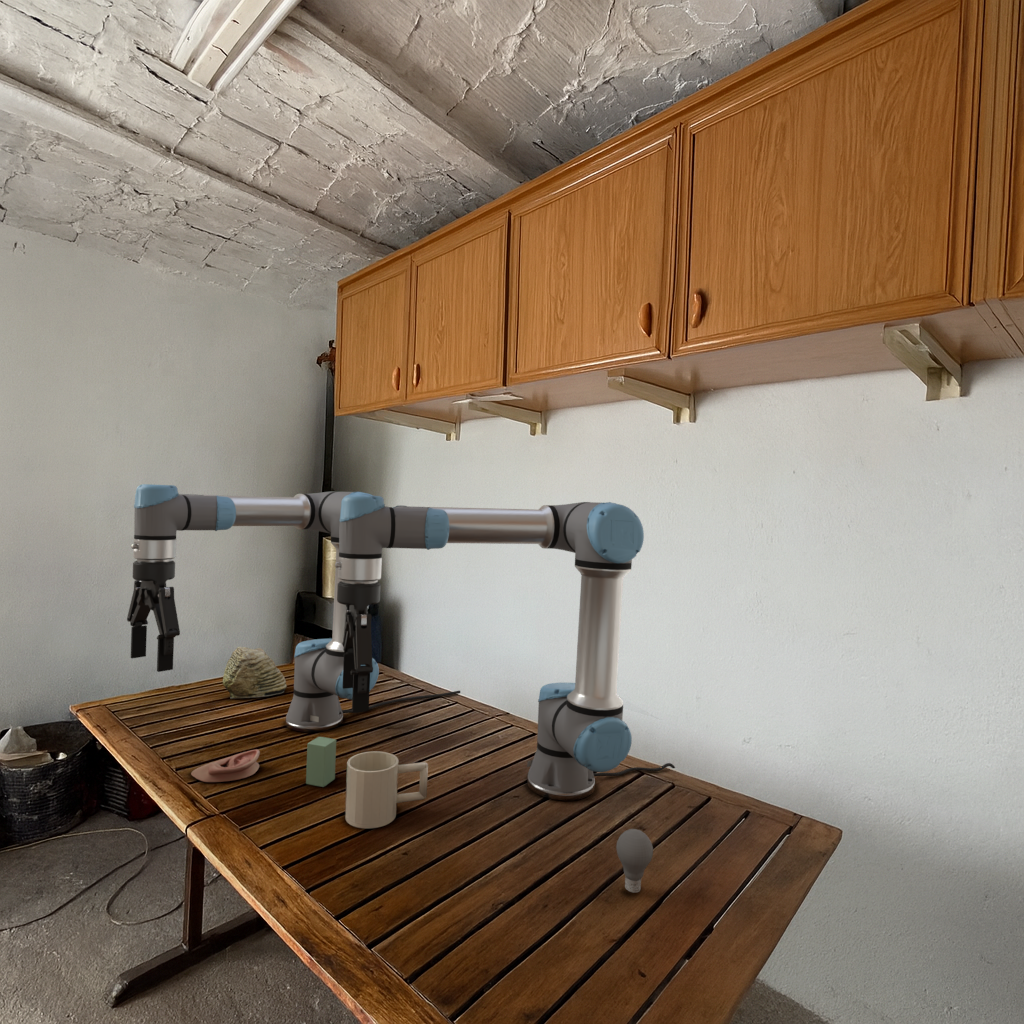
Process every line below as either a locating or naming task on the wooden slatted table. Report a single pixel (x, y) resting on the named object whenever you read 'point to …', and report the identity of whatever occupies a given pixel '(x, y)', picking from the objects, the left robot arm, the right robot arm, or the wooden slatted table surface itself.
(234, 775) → the anatomical model
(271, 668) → the fossil
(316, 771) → the block
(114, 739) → the wooden slatted table surface
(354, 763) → the mug
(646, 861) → the light bulb
